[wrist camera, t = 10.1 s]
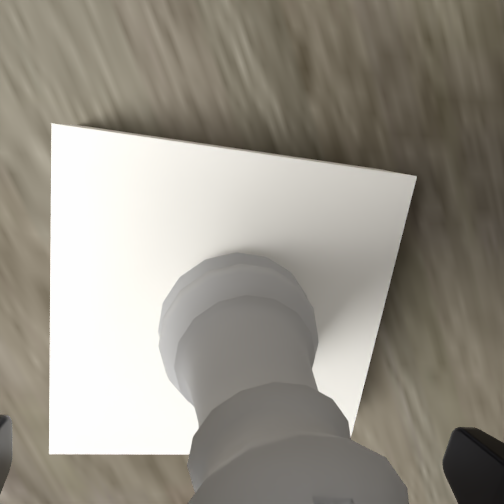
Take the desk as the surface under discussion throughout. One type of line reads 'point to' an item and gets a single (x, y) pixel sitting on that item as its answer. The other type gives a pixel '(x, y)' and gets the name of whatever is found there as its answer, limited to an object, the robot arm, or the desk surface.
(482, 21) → the desk surface
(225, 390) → the rook chess piece
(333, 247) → the off-white block
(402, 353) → the desk surface
